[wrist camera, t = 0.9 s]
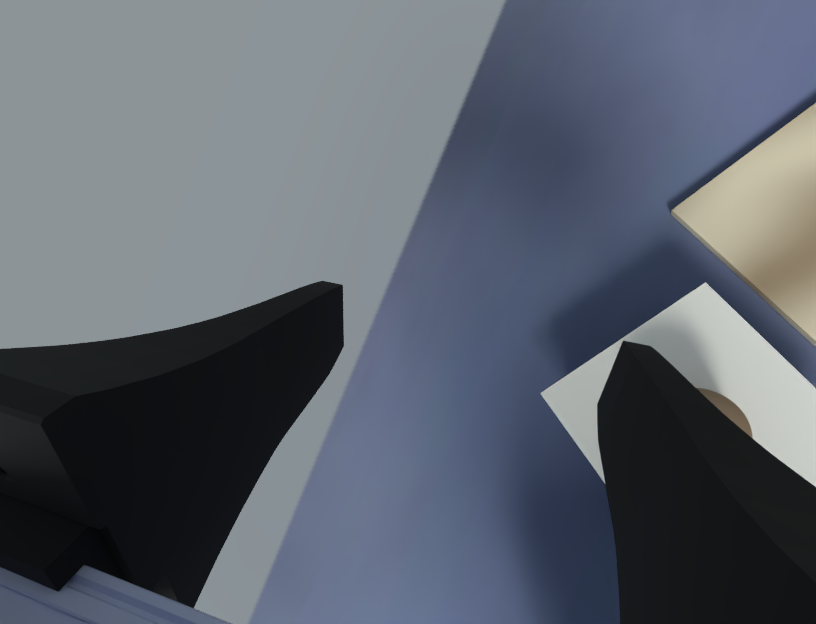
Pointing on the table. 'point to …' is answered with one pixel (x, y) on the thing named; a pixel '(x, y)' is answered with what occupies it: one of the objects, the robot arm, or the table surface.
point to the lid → (706, 380)
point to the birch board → (766, 220)
